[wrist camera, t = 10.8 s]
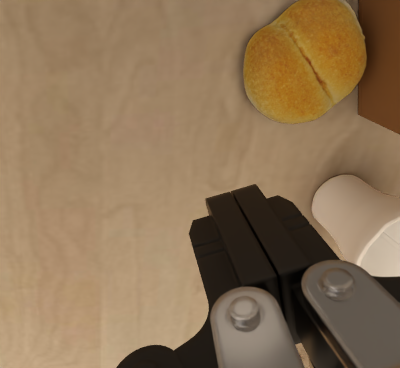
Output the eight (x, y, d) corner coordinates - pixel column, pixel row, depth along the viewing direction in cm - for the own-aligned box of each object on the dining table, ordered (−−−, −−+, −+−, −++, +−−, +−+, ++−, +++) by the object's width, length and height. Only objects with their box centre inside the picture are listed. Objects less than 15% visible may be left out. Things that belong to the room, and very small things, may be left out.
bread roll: (219, 57, 26) (233, 66, 22) (322, -25, 25) (355, -30, 21) (274, 140, 30) (293, 158, 26) (366, 72, 28) (399, 82, 25)
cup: (335, 250, 37) (401, 328, 28) (276, 206, 33) (331, 280, 24) (402, 188, 35) (495, 250, 26) (347, 133, 31) (436, 185, 22)
